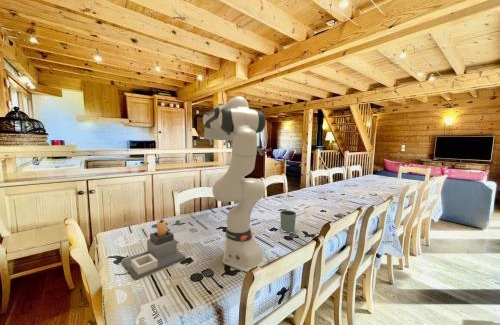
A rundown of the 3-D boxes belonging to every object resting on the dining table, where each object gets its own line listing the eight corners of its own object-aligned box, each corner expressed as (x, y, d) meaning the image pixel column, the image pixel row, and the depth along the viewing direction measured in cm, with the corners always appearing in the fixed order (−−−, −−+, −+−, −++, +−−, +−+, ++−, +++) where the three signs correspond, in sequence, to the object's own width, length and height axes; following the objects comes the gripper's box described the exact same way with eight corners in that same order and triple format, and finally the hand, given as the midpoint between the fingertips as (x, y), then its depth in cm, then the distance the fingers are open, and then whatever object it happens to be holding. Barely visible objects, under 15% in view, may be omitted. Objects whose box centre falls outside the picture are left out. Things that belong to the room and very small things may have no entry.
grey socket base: (185, 259, 102) (185, 238, 101) (136, 280, 86) (135, 255, 85) (168, 246, 114) (168, 227, 113) (122, 262, 97) (121, 240, 96)
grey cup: (295, 234, 134) (296, 216, 133) (278, 232, 136) (279, 214, 135) (295, 228, 144) (296, 210, 143) (279, 226, 146) (280, 209, 144)
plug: (167, 240, 105) (167, 220, 104) (159, 242, 102) (159, 222, 101) (163, 237, 108) (163, 218, 107) (156, 239, 105) (155, 220, 104)
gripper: (205, 128, 141) (203, 146, 148) (235, 130, 147) (232, 147, 154) (204, 124, 146) (202, 142, 153) (233, 126, 152) (230, 143, 159)
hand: (217, 144), depth 154 cm, fingers open, 8 cm apart
